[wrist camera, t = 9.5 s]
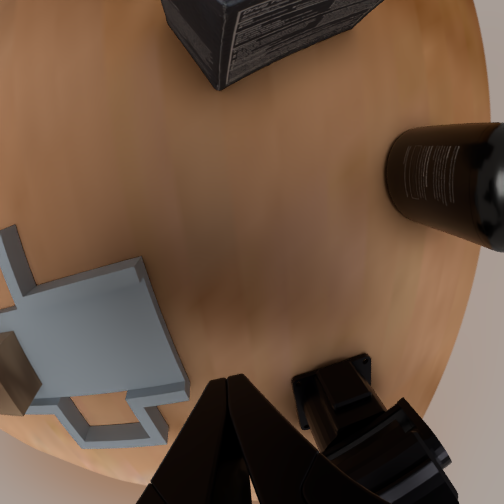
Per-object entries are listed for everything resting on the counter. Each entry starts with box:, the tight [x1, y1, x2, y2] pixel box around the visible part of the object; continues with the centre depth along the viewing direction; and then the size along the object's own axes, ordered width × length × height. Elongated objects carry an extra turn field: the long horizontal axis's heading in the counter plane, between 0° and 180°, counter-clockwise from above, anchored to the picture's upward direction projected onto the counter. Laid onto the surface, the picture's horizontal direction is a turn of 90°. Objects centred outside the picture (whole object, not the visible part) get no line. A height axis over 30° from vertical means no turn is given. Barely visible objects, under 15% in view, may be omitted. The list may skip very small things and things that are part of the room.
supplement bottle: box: [387, 122, 504, 252], centre depth 13 cm, size 7×7×12 cm
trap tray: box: [0, 225, 190, 449], centre depth 18 cm, size 20×19×2 cm
